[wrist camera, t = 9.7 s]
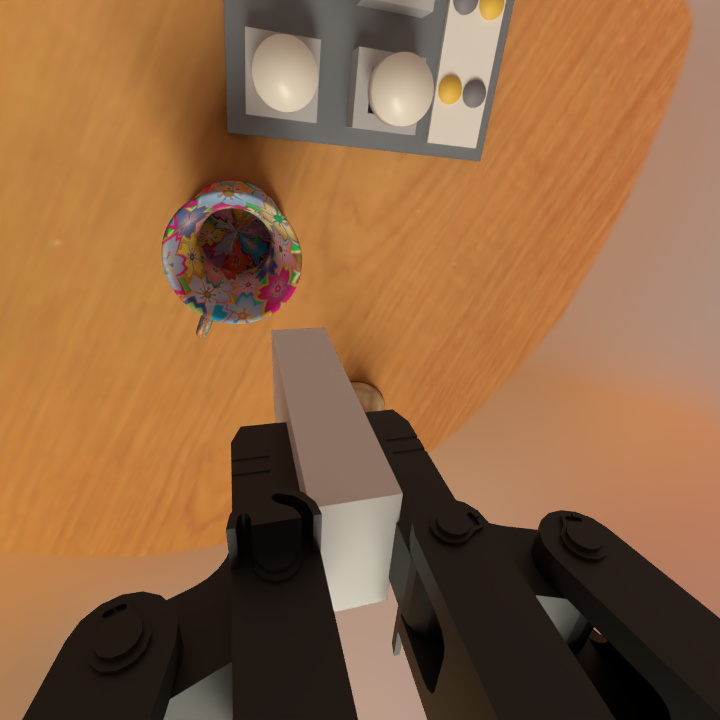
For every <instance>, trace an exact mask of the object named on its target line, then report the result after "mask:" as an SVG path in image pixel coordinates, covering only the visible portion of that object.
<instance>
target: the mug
mask: <svg viewBox="0 0 720 720" xmlns="http://www.w3.org/2000/svg"><path fill="white" fill-rule="evenodd" d="M162 262H163V267H164V271H165V274H166V277H167V279H168V281H169V283H170V285H171V287H172V289H173V290H174V292H175V293H176V294H177V296H178V297H179V298H180V299H181V300H182V301H183V302H184V303H185V304H186V305H187V306H189V307H190V308H191V309H192V310H194V311H196V312H197V313H199V314H201V318H200V321H199V324H198V327H197V330H196V335H197V336H199V337H202V338H204V337H206V335H207V333H208V331H209V329H210V327H211V325H212V322H213V320H215V321H219V322H223V323H231V324H243V323H250V322H255V321H258V320H261V319H263V318H266V317H268V316H270V315H272V314H273V313H275V312H276V311H277V310H279V309H280V308H281V307H282V306H283V305H284V304H285V303H286V302H287V301H288V300H289V299H290V297H291V296H292V294H293V293H294V291H295V289H296V287H297V284H298V282H299V279H300V275H301V268H302V255H301V249H300V244H299V241H298V238H297V236H296V233H295V232H294V230H293V228H292V226H291V225H290V223H289V222H288V220H287V219H286V218H285V217H284V215H283V214H282V213H281V212H280V210H279V208H278V207H277V205H276V203H275V202H274V201H273V200H272V199H271V198H270V197H269V195H267V194H266V193H265V192H264V191H262V190H261V189H259V188H258V187H256V186H254V185H252V184H249V183H246V182H242V181H235V180H227V181H220V182H217V183H214V184H211V185H209V186H207V187H206V188H204V189H203V190H201V191H200V192H199V193H198V194H197V195H196V196H195V198H194V199H192V200H190V201H189V202H187V203H186V204H185V205H183V206H182V207H181V208H180V209H179V210H178V211H177V212H176V213H175V215H174V216H173V218H172V219H171V221H170V222H169V224H168V226H167V228H166V231H165V234H164V237H163V242H162Z"/></svg>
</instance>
